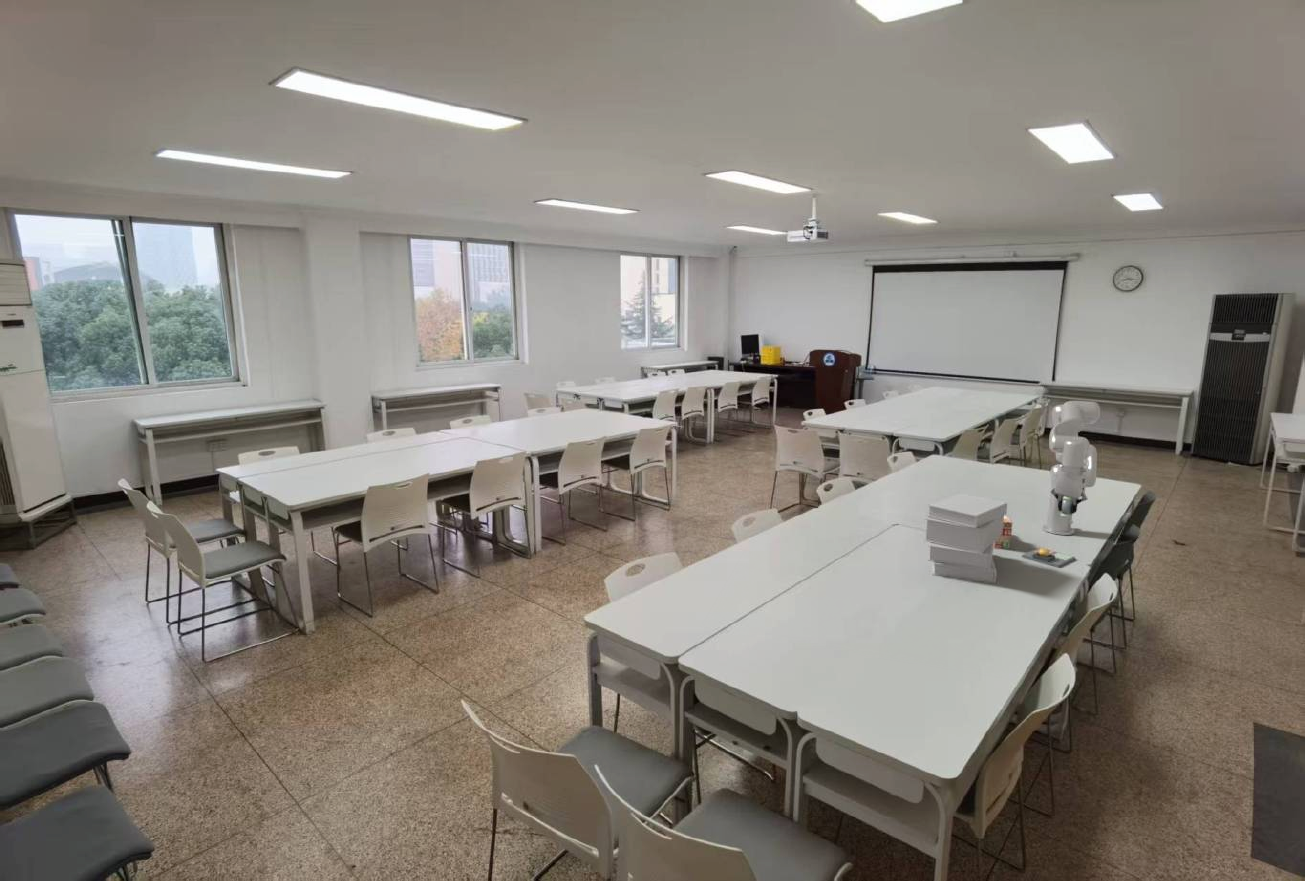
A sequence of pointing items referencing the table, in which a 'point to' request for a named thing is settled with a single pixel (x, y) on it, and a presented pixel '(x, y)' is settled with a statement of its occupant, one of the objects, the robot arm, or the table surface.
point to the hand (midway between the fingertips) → (1066, 511)
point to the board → (1049, 558)
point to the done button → (1044, 552)
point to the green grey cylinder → (1066, 507)
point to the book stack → (964, 536)
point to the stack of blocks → (1004, 535)
